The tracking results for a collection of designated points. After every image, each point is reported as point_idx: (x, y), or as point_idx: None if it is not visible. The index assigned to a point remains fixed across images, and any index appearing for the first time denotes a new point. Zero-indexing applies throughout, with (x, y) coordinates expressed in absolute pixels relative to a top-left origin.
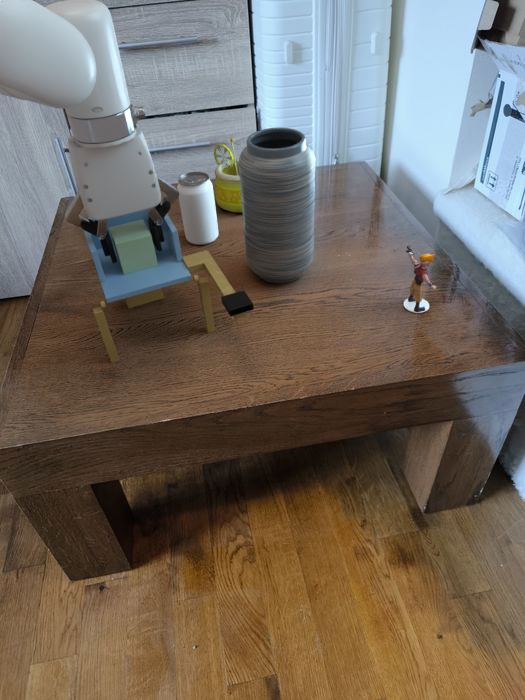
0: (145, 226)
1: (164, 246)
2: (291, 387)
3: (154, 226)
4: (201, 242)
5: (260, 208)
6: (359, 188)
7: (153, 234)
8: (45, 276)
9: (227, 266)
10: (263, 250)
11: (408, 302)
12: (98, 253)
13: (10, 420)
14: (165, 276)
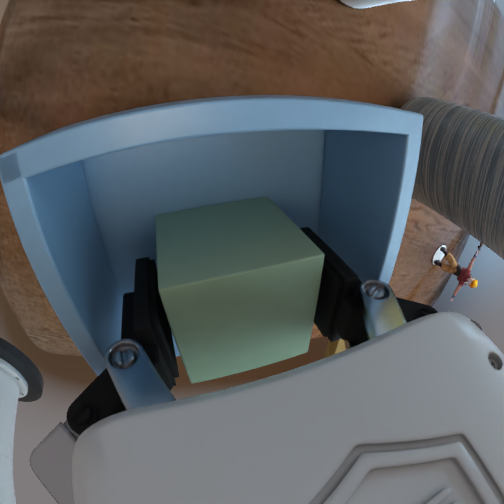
0: (312, 307)
1: (309, 197)
2: (312, 331)
3: (336, 335)
4: (344, 2)
5: (488, 236)
6: (499, 56)
7: (314, 318)
8: (11, 5)
9: (358, 87)
10: (427, 197)
11: (439, 250)
12: (90, 171)
13: (28, 330)
14: None
